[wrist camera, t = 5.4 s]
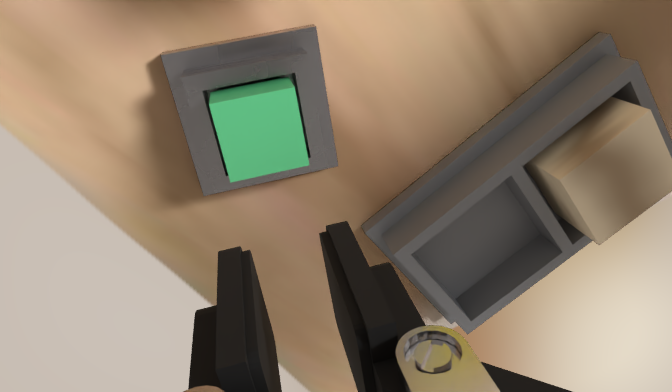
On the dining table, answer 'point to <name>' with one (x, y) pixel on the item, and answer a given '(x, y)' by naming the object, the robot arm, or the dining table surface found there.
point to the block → (605, 169)
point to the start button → (259, 128)
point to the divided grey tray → (502, 194)
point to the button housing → (242, 69)
